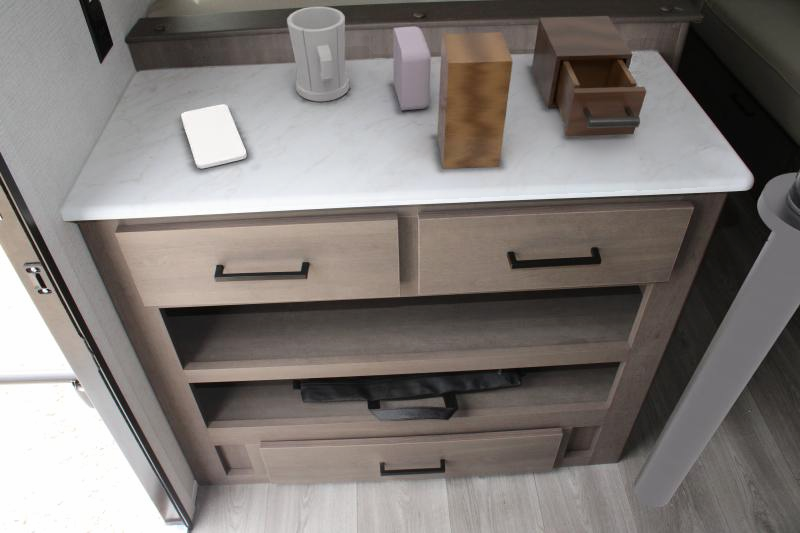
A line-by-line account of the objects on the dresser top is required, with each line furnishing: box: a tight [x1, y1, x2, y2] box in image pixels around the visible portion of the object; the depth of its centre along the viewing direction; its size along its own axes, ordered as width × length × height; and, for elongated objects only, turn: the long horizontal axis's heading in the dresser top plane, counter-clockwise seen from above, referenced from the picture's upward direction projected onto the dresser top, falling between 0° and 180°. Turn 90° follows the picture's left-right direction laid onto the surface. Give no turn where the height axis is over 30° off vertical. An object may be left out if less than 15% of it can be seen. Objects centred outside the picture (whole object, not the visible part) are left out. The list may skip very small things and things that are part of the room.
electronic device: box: [392, 25, 432, 111], centre depth 100 cm, size 10×5×10 cm, turn 8°
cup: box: [286, 6, 350, 103], centre depth 100 cm, size 10×9×12 cm
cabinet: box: [531, 15, 633, 110], centre depth 102 cm, size 13×11×9 cm
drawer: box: [554, 59, 647, 137], centre depth 94 cm, size 17×10×7 cm, turn 2°
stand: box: [437, 31, 514, 169], centre depth 86 cm, size 8×8×16 cm
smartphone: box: [180, 103, 248, 169], centre depth 95 cm, size 7×1×15 cm
